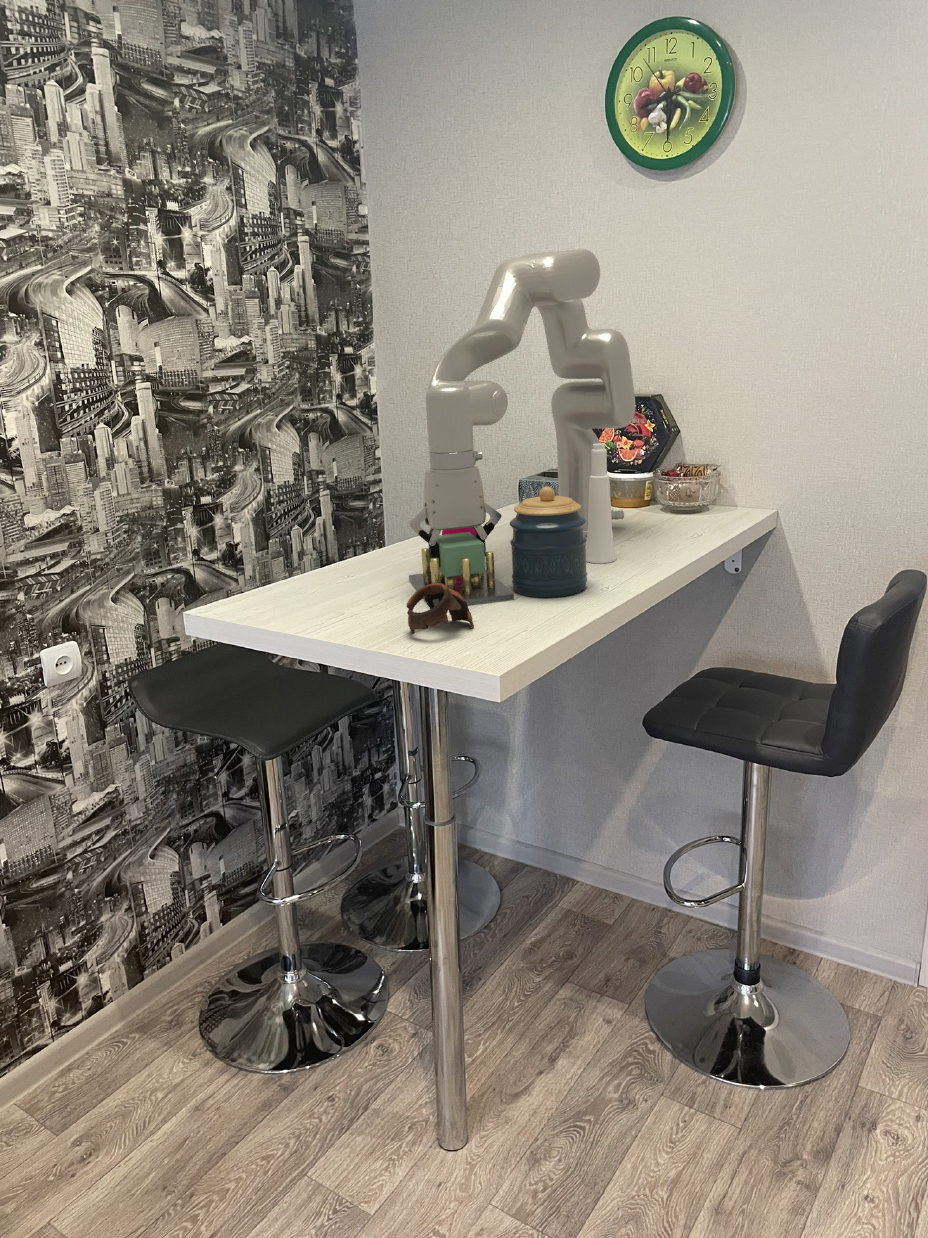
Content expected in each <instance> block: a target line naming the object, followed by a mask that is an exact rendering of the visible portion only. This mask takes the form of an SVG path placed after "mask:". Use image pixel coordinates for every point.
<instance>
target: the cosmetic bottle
mask: <svg viewBox="0 0 928 1238" xmlns="http://www.w3.org/2000/svg"><path fill="white" fill-rule="evenodd" d="M593 447H594V449H592V475H591V476H590V479H589V506H588V532H587V536H586V539H587V541H586V563H589V562H590V564H609V563H612V562H615V561H616V560H617V555H616V549H615V543H614V536H613V535H614V534H613V520H612V518H611V510H612V505H611V504H612V503H611V502H612V501H611V500H612V499H611V484H610V483H611V482H610V475H609V474H608V468H607V467H608V464H607V463H608V461H607V459H608V458H607V456H608V455H607V453H608V452H607V448H606V443H603V442H600V443H595V444H593Z"/></svg>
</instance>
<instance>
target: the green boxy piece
mask: <svg viewBox="0 0 928 1238" xmlns="http://www.w3.org/2000/svg"><path fill="white" fill-rule="evenodd" d="M437 545H439V552H440V568H439V571H440V572H441V573H442V574H443V575H444V576H445V577H451V576H459V575H463V574H462V558H470V568H471V574H476V573H484V572H485V569H486V557H485V553H484V543H483V542H481V541H480V540H479V539H478V538H476V537H475V536H474V535H472V534H471V533H470V532H465V533H456V534H447V535H442V534H440V535H439V537H438V540H437Z"/></svg>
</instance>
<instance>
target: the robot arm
mask: <svg viewBox="0 0 928 1238" xmlns="http://www.w3.org/2000/svg"><path fill="white" fill-rule="evenodd" d="M600 279H601V267H600V261H599V260H598V257H597V256H596V255H595V254H594V253H593V252H592V251H591V250H588V249H586V248H581V249H580V248H578V249H569V250H568V249H567V250H558V251H545V252H536V253H529V254H523V255H522V256H519V257H513V258H509V259H506V260H505V261H502V262H501V263H500V264H499V265H498V266H497V268H496V269H495V271H494V273H493V276H492V278H491V281H490V284H489V287H488V290H487V292H486V295H485V298H484V301H483V303H482V305H481V308H480V311H479V314H478V316H477V320H476V322H475V324H474V326H472V327H471V329H469V330H468V331H466V332H465V333H464V334H463V335H462V336H460V337H459V338H458V339H457V340H456V341H455V342H454V343H453V344H452V345H451V346H450V347H449V348H448V349H447V350H446V351H444V353H443V354H442V355H441V357H440V358H439V360H438V362H436V363H437V364H436V365H435V368H434V371H433V374H432V376H431V379H430V382H429V385H428V388H427V391H426V393H425V410H426V411H425V412H426V425H427V441H428V453H429V454H428V455H429V457H428V458H429V469H426V470H425V472H424V473H425V474H424V480H423V481H424V482H423V483H424V484H423V508H422V509H420V511H419V512H418V513H417V514H416V515H415V516H414V517H413V518H412V519H411V520H410V521H409V523H408V526H409V527H410V528H411V529H412V530H413V531H414V532H415V533H416V534H417V535H418V536H419V537H420V538H421V539H422V540H423V541H424V542H426V543H427V544H428V548H429V557H430V559H431V558H434V557H437V558H439V568H440V552H439V545H437V540H438V537H439V535H441V534H442V530H448V529H457V528H466V527H472V528H473V529H474V531H475V533H476V538H478V539H479V540H480V541H481V542H483V543H484V553H485V552H487V550H486V549H487V547H486V540H487V539H488V536H489V535H490V534H491V533H492V532H493V531H494V529H495V526H496V525H497V524H498V523H499V521H500V520H501V518H502V517H503V516H502V513H500V512H499V511H497V510H496V509H495V508H493V507H492V506H490V504H487V503H486V502H485V494H484V487H483V482H482V477H481V473H480V470H479V467H478V466H476V464H477V461H479V460H483V452H482V451H477V450H475V448H474V432H473V431H474V430H473V429H474V426H475V427H476V426H477V427H478V426H480V427H481V426H482V427H484V426H486V427H487V426H491V425H493V424H494V425H495V424H496V423H498V422H500V420H502V419H503V417H504V416H505V415H506V412H507V409H508V396H507V393H506V391H505V389H504V388H503V387H502V386H501V385H500V384H499V383H497V382H494V381H491V380H466V378H468V376H469V375H470V374H472V373H473V372H475V371H476V370H478V369H479V368H481V367H483V366H486V365H487V364H490V363H491V362H492V363H493V362H495V361H496V360H498V359H500V358H502V357H504V356H506V355H508V354H510V353H512V352H513V351H515V350H516V349H517V348H518V347H519V345H520V343H521V341H522V338H523V335H524V332H525V329H526V326H527V324H528V320H529V317H530V315H531V312H532V310H533V308H535V307H536V309H537V310H538V311H539V314H540V316H541V319H542V323H543V327H544V331H545V338H546V343H547V344H546V345H547V349H548V350H547V351H548V356H549V361H550V364H551V369H552V371H553V373H554V375H555V376H557V377H559V378H561V379H564V380H565V379H567V380H569V379H570V380H587V379H590V380H589V381H588V380H587V381H570V382H565V383H563V384H560V385H559V386H558V387H557V388H556V389H555V390H554V391H553V393H552V396H551V399H550V400H551V404H550V405H551V406H550V407H551V408H550V409H551V412H552V418H553V419H552V420H553V423H554V430H555V435H556V451H557V455H556V456H557V486H558V487H557V489H558V490H557V493H558V495H557V496H562V497H569V498H571V499H572V500H573V501H575V502H576V503H578V504H580V505H581V509H580V510H578V511H579V513H580V515H582V516H583V517H585V518H586V523H585V524H584V526H583V531H584V536H585V537H587V532H588V506H589V479H590V476H591V475H592V449H594V447H593V444H595V443H601V442H600V439H599V438H598V436H597V435H596V433H595V432H594V431H593V429H621V428H625V427H627V426H629V425H630V424H631V423H632V421H633V420H634V417H635V415H636V396H635V394H636V393H635V387H634V381H633V380H634V379H633V371H632V366H631V365H632V364H631V356H630V349H629V347H628V343H627V340H626V337H624V335H623V333H621V332H620V331H619V330H616V329H612V328H600V329H598V328H597V329H591V327H589V324H588V319H587V316H586V309H585V304H584V303H583V299H586V298H589V297H590V296H592V295H593V294H594V292H595V291H596V290H597V288H598V286H599V282H600ZM593 379H594V380H596V379H599V381H594V380H593ZM591 380H592V381H591ZM487 514H488V515H489V516H490V517H489V520H488V521H487V522H486V520H487V516H486V515H487ZM611 518H612V521H613V520H623V519H625V512H624V510H622V509H620V510H615V511H614V510H613V509H611ZM423 522H424V523H425V525H427V526H428V527H429V530H428V532H427V531H426V530H424V528H422V526H421V525H422V523H423ZM483 524H484V525H483ZM485 558H486V554H485ZM430 563H431V560H430Z"/></svg>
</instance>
